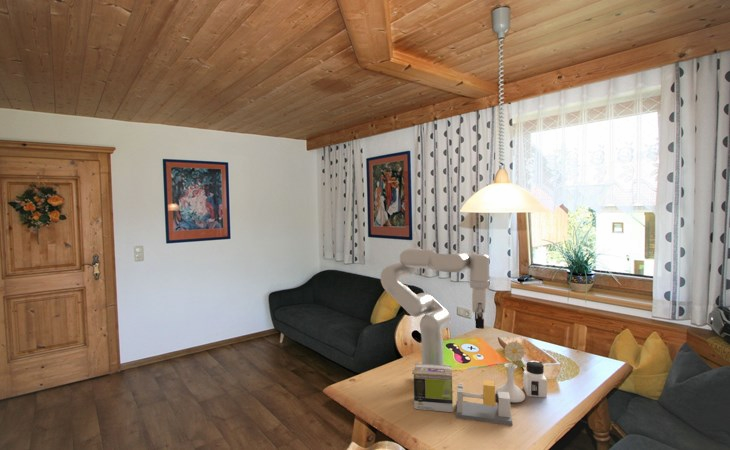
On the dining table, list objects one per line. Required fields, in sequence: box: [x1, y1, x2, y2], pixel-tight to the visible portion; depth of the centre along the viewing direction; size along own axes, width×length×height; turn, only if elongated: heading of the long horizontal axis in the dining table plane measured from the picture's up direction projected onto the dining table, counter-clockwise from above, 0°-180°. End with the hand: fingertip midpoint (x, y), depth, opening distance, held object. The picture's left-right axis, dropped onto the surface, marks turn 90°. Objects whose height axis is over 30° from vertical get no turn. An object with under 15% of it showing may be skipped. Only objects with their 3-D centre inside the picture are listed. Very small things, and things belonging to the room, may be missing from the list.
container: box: [522, 360, 548, 399], centre depth 159 cm, size 8×8×13 cm
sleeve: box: [482, 379, 496, 406], centre depth 142 cm, size 4×4×8 cm
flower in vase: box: [495, 340, 526, 403], centre depth 154 cm, size 13×11×25 cm
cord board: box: [455, 382, 513, 426], centre depth 143 cm, size 20×10×10 cm, turn 75°
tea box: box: [413, 363, 454, 413], centre depth 150 cm, size 15×10×15 cm, turn 78°
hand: (479, 324), depth 156 cm, fingers open, 9 cm apart
